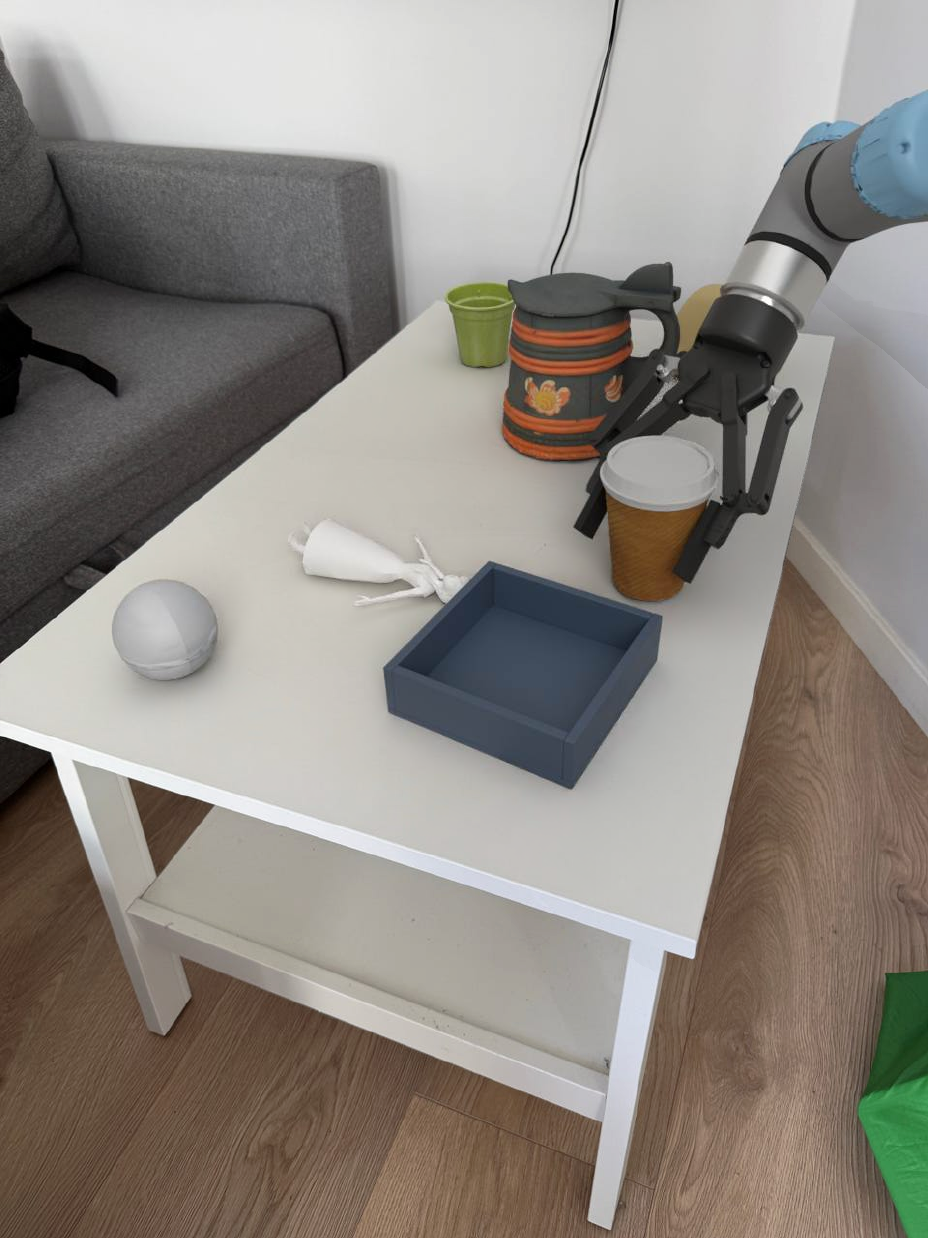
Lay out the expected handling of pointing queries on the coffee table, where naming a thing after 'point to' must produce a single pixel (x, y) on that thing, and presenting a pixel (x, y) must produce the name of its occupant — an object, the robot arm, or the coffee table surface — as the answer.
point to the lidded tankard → (577, 355)
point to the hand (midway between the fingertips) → (630, 554)
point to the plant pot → (481, 321)
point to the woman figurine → (370, 563)
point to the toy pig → (695, 315)
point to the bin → (525, 670)
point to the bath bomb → (164, 629)
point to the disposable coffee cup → (654, 510)
